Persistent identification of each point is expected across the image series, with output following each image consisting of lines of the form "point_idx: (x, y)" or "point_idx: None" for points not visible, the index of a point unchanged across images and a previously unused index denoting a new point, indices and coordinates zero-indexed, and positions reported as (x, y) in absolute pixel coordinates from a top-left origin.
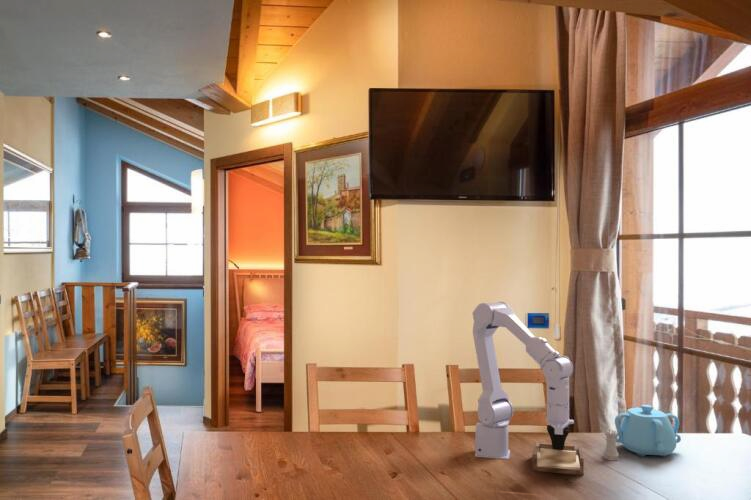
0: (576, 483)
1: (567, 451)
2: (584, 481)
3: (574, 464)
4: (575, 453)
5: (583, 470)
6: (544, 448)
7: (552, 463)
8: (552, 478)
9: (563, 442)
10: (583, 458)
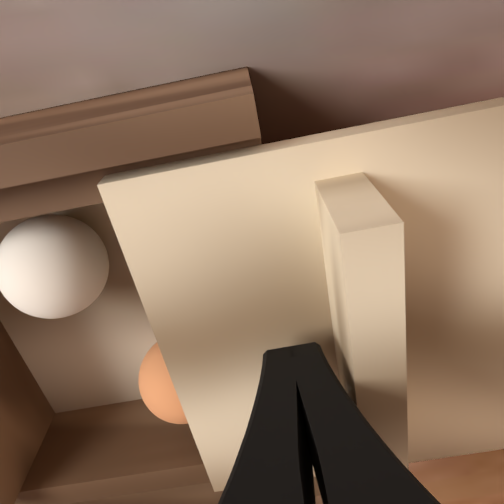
0: (444, 104)
1: (405, 329)
2: (373, 40)
3: (471, 174)
4: (395, 221)
5: (248, 74)
6: (3, 459)
7: (486, 361)
8: None
9: (409, 476)
10: (248, 96)
